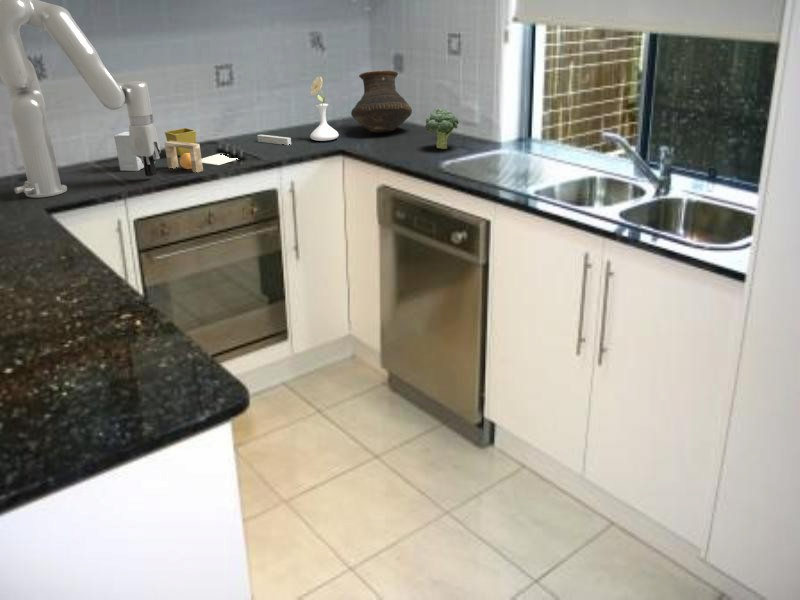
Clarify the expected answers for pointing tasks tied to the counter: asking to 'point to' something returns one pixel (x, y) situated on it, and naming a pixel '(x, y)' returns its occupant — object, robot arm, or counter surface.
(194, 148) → the bridge
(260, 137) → the wall
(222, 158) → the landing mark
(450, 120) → the vegetable
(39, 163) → the robot arm
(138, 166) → the supplement box
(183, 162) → the ball
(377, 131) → the ceramic pot
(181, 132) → the flower pot
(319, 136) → the flower in vase
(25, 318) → the counter surface
